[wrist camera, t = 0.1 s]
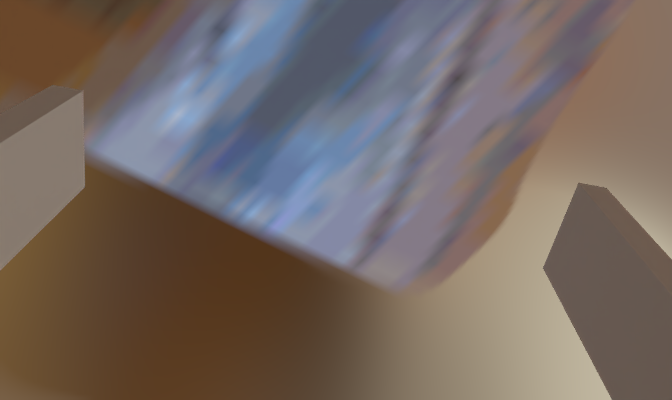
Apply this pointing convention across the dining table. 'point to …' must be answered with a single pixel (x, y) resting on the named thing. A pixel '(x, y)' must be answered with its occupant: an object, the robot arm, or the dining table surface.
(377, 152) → the dining table surface
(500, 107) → the dining table surface
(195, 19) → the dining table surface
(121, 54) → the dining table surface
